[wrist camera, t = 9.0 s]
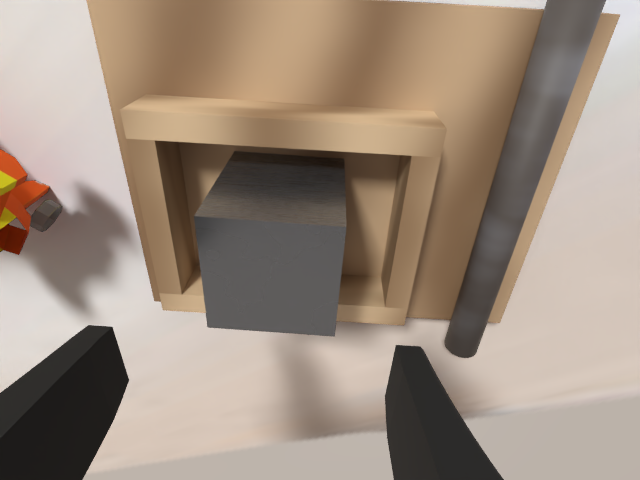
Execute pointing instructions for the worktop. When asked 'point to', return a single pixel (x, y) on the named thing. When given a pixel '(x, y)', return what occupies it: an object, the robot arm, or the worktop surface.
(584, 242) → the worktop surface
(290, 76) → the plate
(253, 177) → the grey rectangular block
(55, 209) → the toy boat
